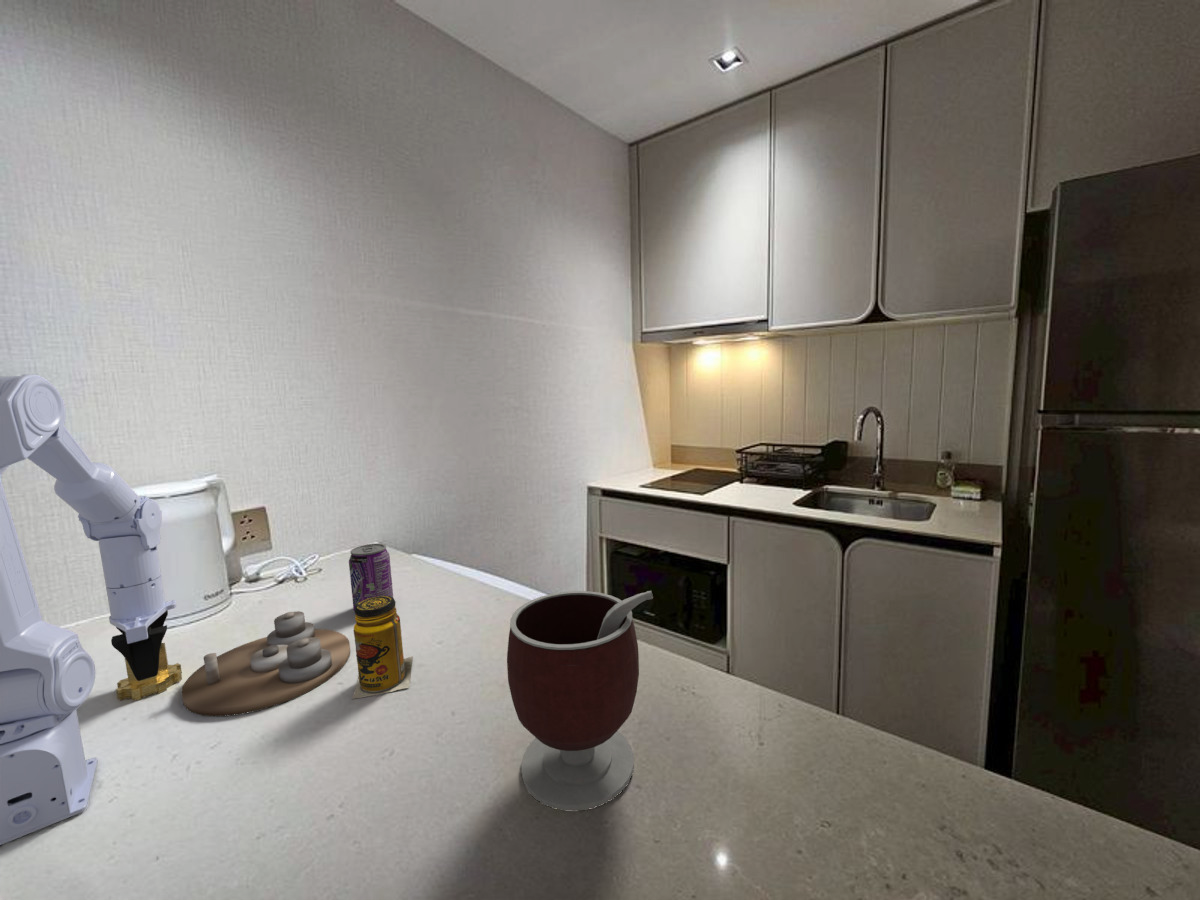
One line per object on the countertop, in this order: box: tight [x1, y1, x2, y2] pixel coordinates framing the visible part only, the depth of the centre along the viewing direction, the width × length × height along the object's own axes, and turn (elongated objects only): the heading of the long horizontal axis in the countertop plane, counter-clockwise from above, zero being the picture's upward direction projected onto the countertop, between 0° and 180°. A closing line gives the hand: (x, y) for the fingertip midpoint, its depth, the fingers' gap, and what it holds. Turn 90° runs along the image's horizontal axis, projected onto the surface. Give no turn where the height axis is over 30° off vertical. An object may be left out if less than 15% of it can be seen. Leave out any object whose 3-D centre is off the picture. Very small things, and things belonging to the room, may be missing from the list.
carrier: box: [181, 610, 351, 717], centre depth 74 cm, size 21×21×6 cm
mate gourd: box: [506, 590, 654, 811], centre depth 52 cm, size 16×14×20 cm
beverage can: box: [348, 543, 394, 612], centre depth 94 cm, size 7×7×12 cm
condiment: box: [351, 596, 414, 700], centre depth 71 cm, size 7×8×12 cm
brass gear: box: [115, 642, 183, 702], centre depth 71 cm, size 7×7×6 cm
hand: (148, 670), depth 71 cm, fingers closed on brass gear, 4 cm apart
